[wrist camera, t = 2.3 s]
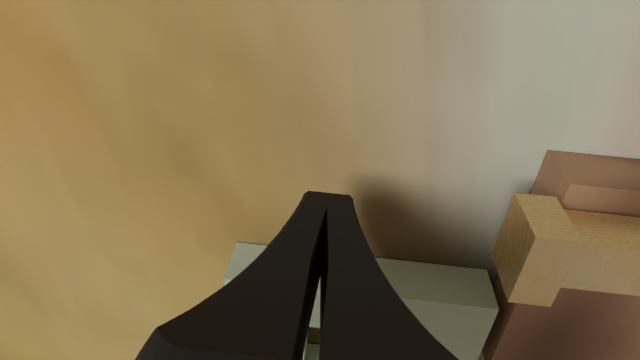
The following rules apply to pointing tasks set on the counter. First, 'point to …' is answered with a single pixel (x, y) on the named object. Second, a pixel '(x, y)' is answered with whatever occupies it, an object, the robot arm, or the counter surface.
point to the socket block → (573, 304)
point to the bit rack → (419, 300)
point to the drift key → (565, 251)
